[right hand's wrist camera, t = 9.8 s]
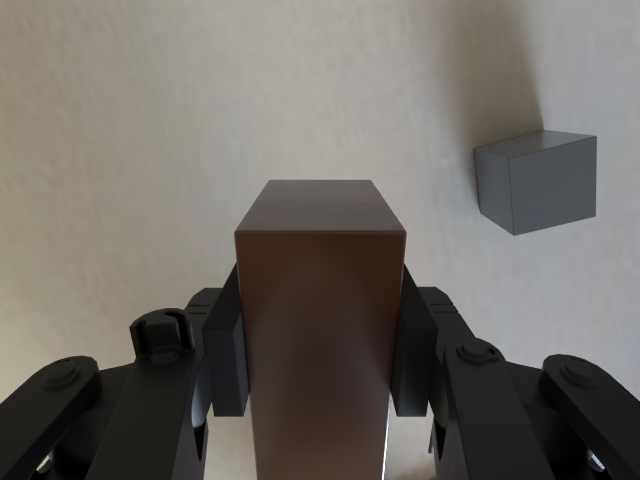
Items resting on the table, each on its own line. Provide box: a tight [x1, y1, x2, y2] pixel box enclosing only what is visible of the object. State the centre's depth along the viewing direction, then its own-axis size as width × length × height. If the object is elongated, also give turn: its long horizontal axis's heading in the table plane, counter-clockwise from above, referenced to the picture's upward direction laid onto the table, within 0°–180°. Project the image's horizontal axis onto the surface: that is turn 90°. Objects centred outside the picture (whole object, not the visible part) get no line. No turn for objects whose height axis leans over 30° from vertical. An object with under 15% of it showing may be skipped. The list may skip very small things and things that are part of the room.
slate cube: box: [474, 130, 597, 236], centre depth 23 cm, size 5×5×5 cm
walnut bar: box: [234, 180, 407, 480], centre depth 15 cm, size 24×4×6 cm, turn 0°
